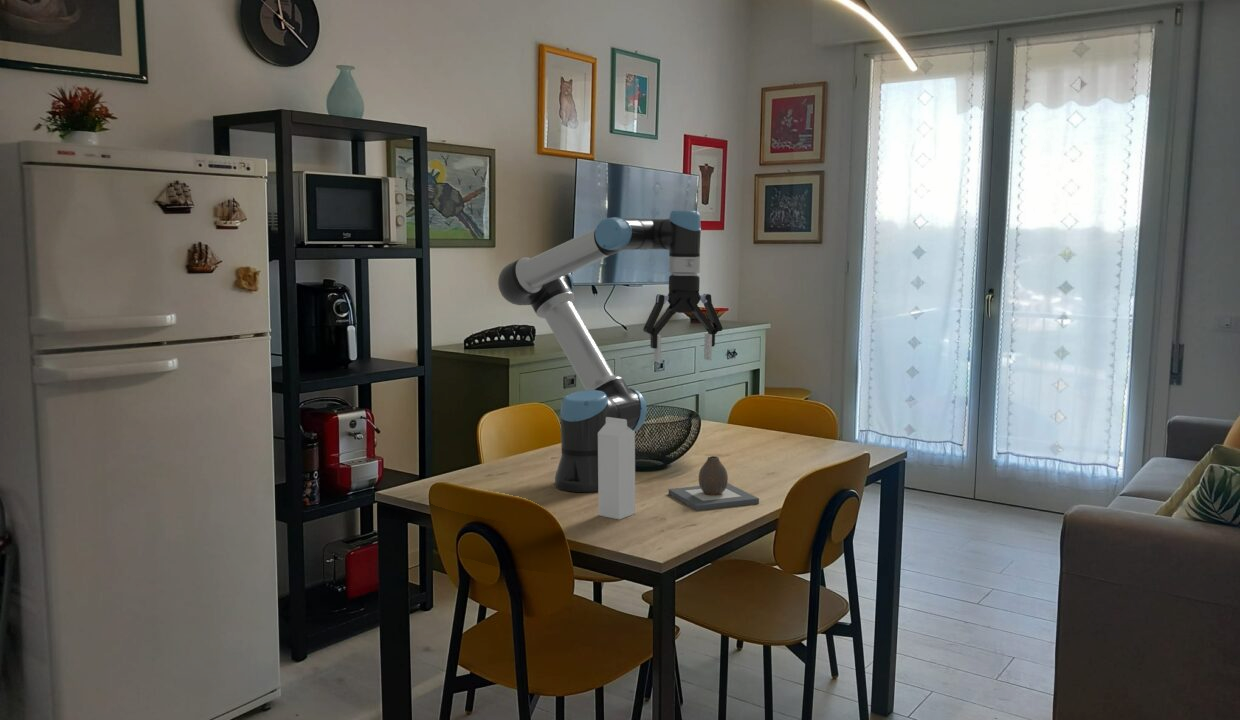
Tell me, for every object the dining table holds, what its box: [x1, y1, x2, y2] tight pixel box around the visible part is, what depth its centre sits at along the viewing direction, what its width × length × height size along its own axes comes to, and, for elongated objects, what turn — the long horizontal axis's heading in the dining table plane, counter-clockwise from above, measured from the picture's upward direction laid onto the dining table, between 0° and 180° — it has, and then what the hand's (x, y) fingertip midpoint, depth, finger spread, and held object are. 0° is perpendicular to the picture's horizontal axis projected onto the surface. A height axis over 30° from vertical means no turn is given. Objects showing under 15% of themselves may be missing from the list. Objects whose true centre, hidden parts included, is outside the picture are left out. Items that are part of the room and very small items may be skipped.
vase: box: [698, 455, 729, 495], centre depth 224 cm, size 7×7×9 cm
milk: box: [597, 417, 636, 521], centre depth 211 cm, size 6×6×22 cm
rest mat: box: [668, 483, 760, 512], centre depth 225 cm, size 16×16×1 cm
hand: (682, 360), depth 233 cm, fingers open, 13 cm apart
